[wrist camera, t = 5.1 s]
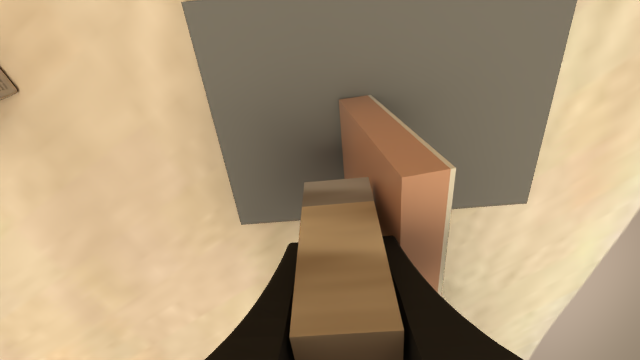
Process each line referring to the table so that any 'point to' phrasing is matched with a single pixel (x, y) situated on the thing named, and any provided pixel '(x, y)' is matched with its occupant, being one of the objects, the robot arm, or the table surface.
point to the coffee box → (6, 86)
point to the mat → (377, 88)
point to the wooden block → (343, 278)
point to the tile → (400, 182)
